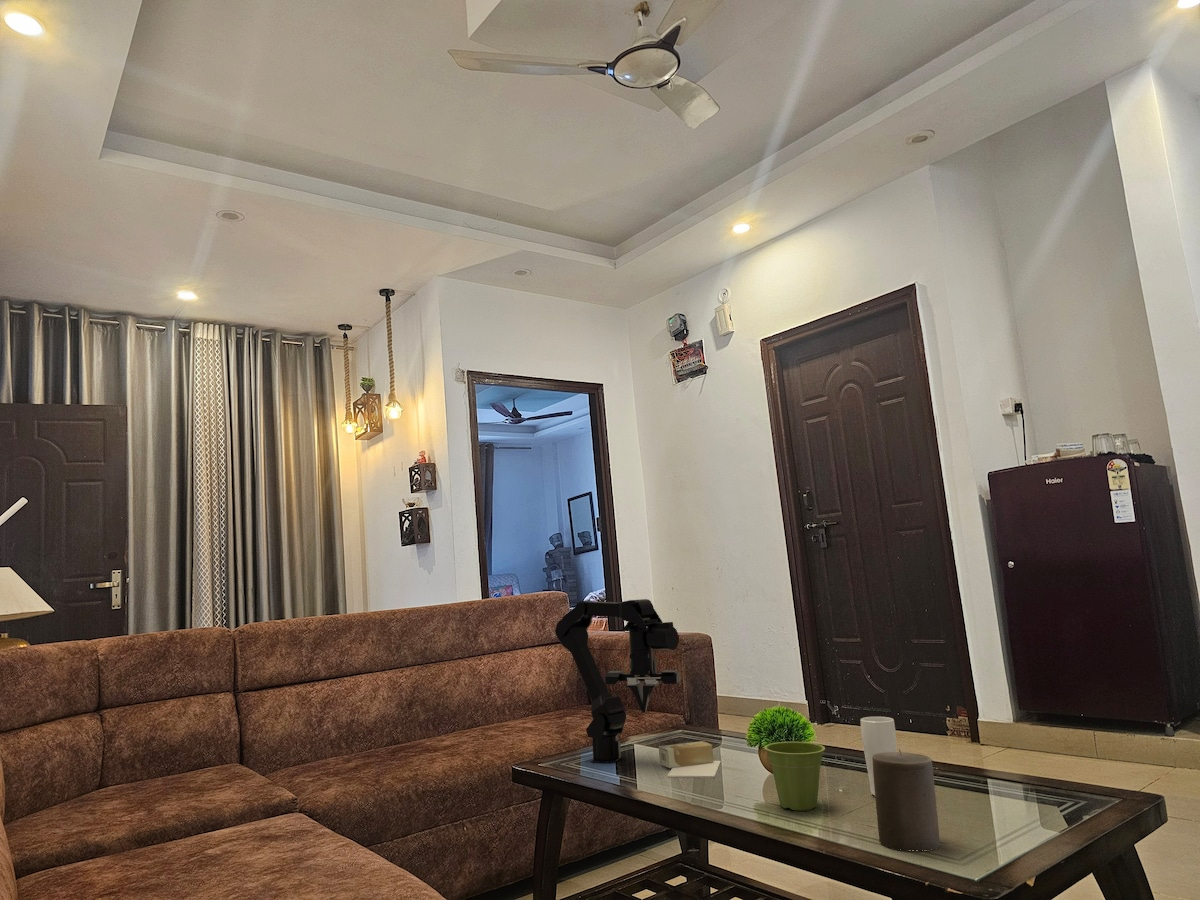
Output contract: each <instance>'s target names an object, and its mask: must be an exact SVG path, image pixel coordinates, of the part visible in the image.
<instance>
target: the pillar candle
mask: <svg viewBox="0 0 1200 900" xmlns="http://www.w3.org/2000/svg"><path fill="white" fill-rule="evenodd" d="M872 760H873V775H874V787H875V796H874V798H875V809H876V820H877V821H876V823H877V830H878V841H879V843H880V842H881V843H880V844H881V845H883V846H885V847H887V848H889V847H890V849H892V848H893V849H892V850H895V849H899V850H900V849H901V850H911V851H912V850H914V851H916V850H918V851H922V850H923V851H924V850H931V849H935V850H937V849H938V847H939V848H940V846H941V838H940V828H939V819H938V810H937V809H938V807H937V797H936V786H935V779H934V769H933V758H932V757H930V756H928V755H924V754H921V753H914V752H907V751H901V749H900V748H898V751H897V752H883V753H877V754H874V755H873V757H872ZM936 848H937V849H936ZM899 850H898V851H899ZM931 851H932V850H931Z"/></svg>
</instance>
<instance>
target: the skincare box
mask: <svg viewBox="0 0 1200 900" xmlns="http://www.w3.org/2000/svg"><path fill="white" fill-rule="evenodd" d="M713 750H714V749H713V744H711V743H709V742H706V741H702V740H700V741H694V742H685V743H675V744H667V745H659V746H658V757H659V764H660V765H661V766H663V767H666V768H668V769H672V768H674V767H682V766H690V765H697V764H705V763H713V762H714V761H715V760H714V751H713Z"/></svg>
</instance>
